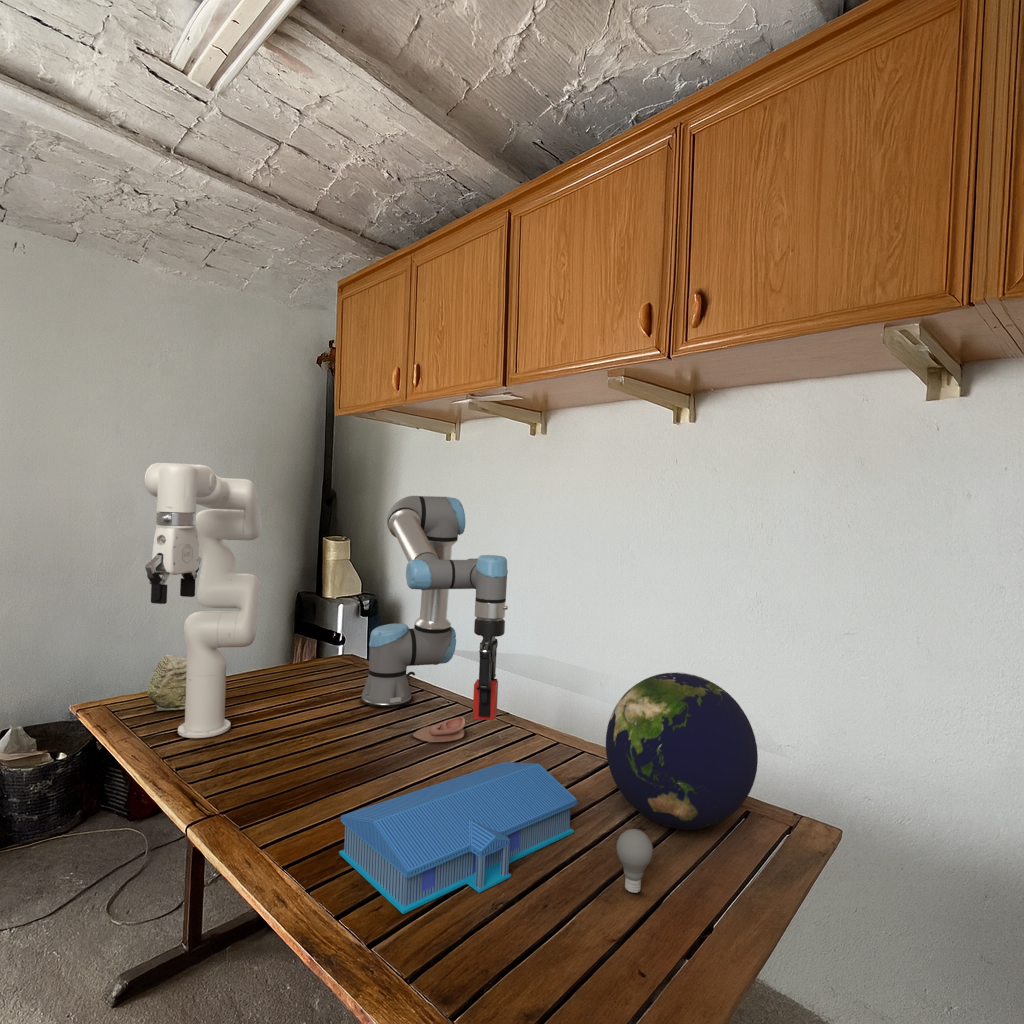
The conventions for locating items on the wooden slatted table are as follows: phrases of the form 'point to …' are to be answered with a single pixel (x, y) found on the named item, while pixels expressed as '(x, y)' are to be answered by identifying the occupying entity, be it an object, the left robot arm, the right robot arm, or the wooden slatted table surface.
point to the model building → (456, 832)
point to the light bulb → (634, 857)
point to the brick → (492, 706)
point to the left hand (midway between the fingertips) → (173, 599)
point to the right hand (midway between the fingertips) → (485, 712)
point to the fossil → (169, 683)
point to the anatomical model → (442, 731)
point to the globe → (681, 751)
